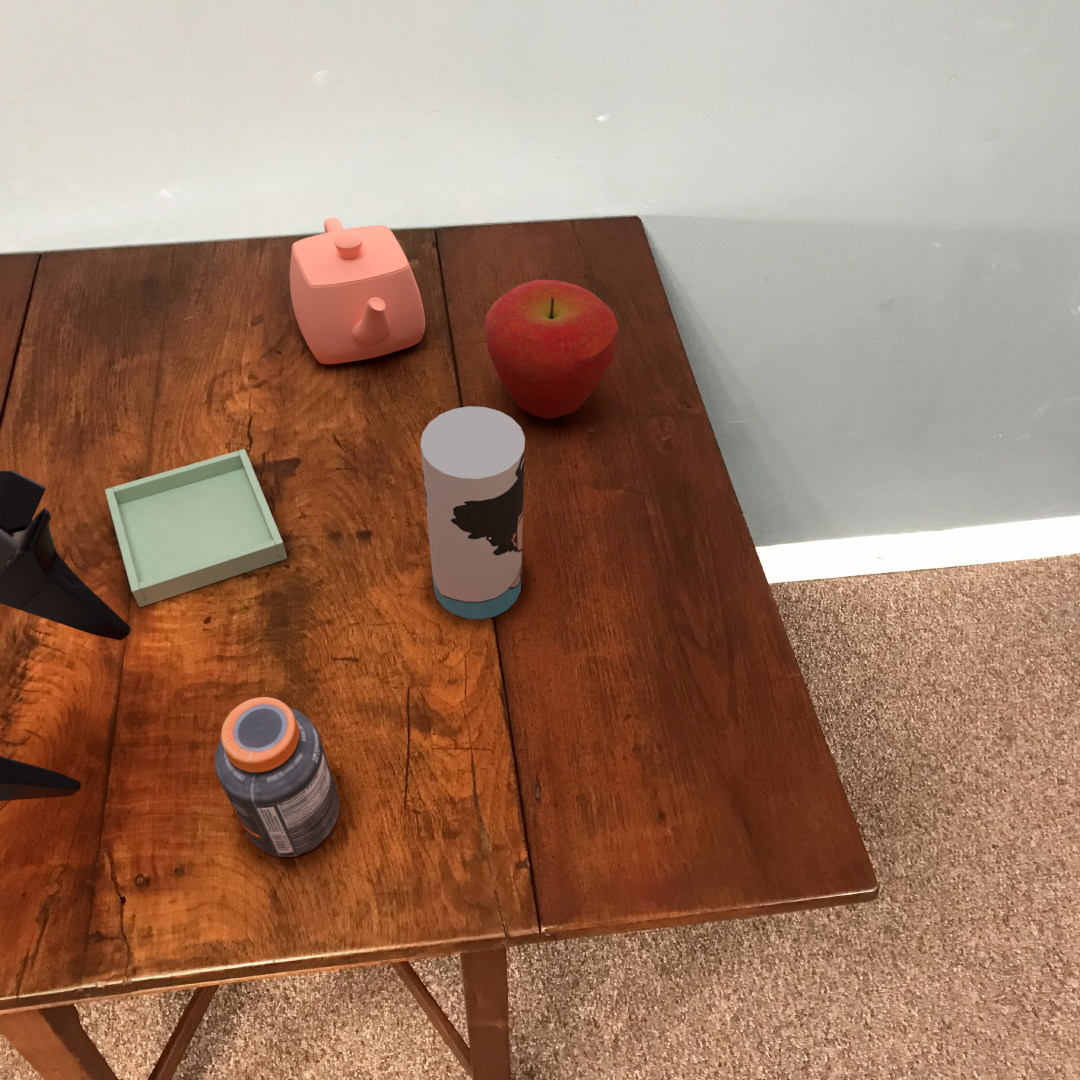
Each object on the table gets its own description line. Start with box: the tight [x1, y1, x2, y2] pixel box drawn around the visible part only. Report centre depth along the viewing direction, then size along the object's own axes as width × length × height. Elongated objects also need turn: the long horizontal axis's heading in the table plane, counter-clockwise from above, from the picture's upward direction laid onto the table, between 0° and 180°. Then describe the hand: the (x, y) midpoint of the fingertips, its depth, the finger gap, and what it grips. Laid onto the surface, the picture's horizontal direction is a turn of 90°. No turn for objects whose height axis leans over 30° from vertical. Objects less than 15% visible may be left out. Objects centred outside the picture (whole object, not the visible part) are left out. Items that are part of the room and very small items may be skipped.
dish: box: [104, 448, 288, 608], centre depth 74 cm, size 11×11×2 cm
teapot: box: [289, 216, 426, 365], centre depth 87 cm, size 12×18×10 cm, turn 22°
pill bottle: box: [214, 696, 340, 858], centre depth 55 cm, size 6×6×11 cm
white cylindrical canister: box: [420, 405, 526, 620], centre depth 66 cm, size 7×7×15 cm
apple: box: [484, 279, 620, 420], centre depth 81 cm, size 11×11×12 cm
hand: (103, 707), depth 49 cm, fingers open, 9 cm apart
